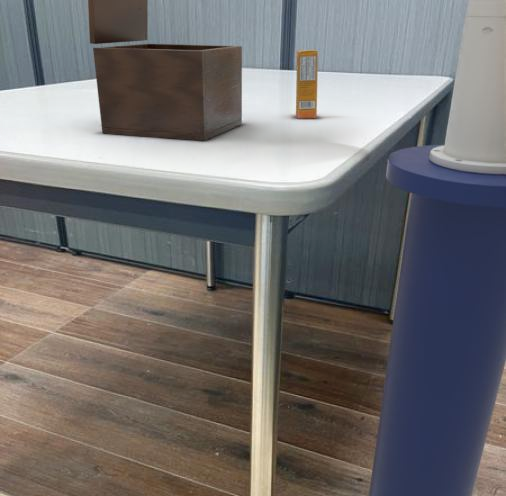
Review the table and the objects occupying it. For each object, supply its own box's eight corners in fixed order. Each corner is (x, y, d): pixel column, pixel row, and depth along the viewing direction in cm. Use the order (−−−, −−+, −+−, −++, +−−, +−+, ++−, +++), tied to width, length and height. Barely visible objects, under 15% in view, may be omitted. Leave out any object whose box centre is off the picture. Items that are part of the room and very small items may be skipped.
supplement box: (293, 115, 98) (296, 49, 94) (314, 115, 99) (317, 49, 94) (295, 118, 96) (298, 50, 91) (316, 118, 96) (320, 50, 91)
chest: (242, 124, 90) (241, 46, 85) (204, 141, 78) (201, 50, 73) (150, 118, 95) (145, 43, 89) (102, 133, 82) (92, 47, 77)
